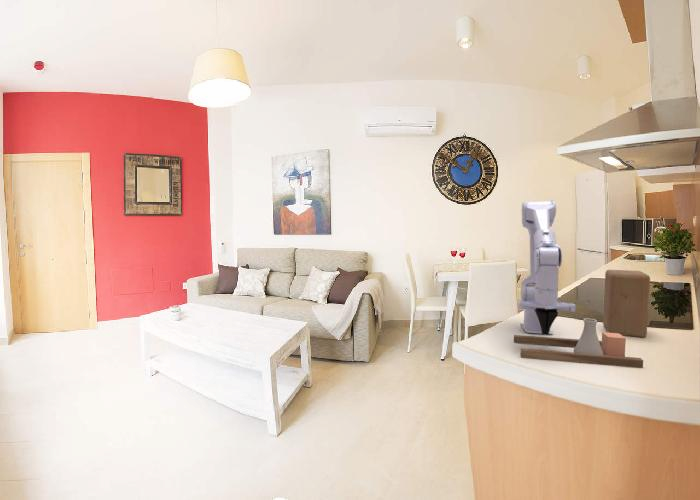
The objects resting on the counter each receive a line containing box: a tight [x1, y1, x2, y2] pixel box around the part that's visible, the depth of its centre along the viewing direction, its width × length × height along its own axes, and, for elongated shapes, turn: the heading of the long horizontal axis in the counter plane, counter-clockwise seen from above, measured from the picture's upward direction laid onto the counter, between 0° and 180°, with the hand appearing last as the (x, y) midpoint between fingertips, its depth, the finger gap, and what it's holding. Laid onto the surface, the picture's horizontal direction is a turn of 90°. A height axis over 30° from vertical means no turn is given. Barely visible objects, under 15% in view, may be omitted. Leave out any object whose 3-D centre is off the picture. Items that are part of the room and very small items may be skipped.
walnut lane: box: [513, 334, 644, 369], centre depth 97 cm, size 13×28×2 cm, turn 73°
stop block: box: [601, 331, 627, 357], centre depth 95 cm, size 4×4×6 cm
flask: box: [573, 317, 604, 355], centre depth 96 cm, size 7×7×10 cm
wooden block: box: [602, 269, 651, 338], centre depth 113 cm, size 10×10×20 cm
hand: (544, 333), depth 101 cm, fingers closed
